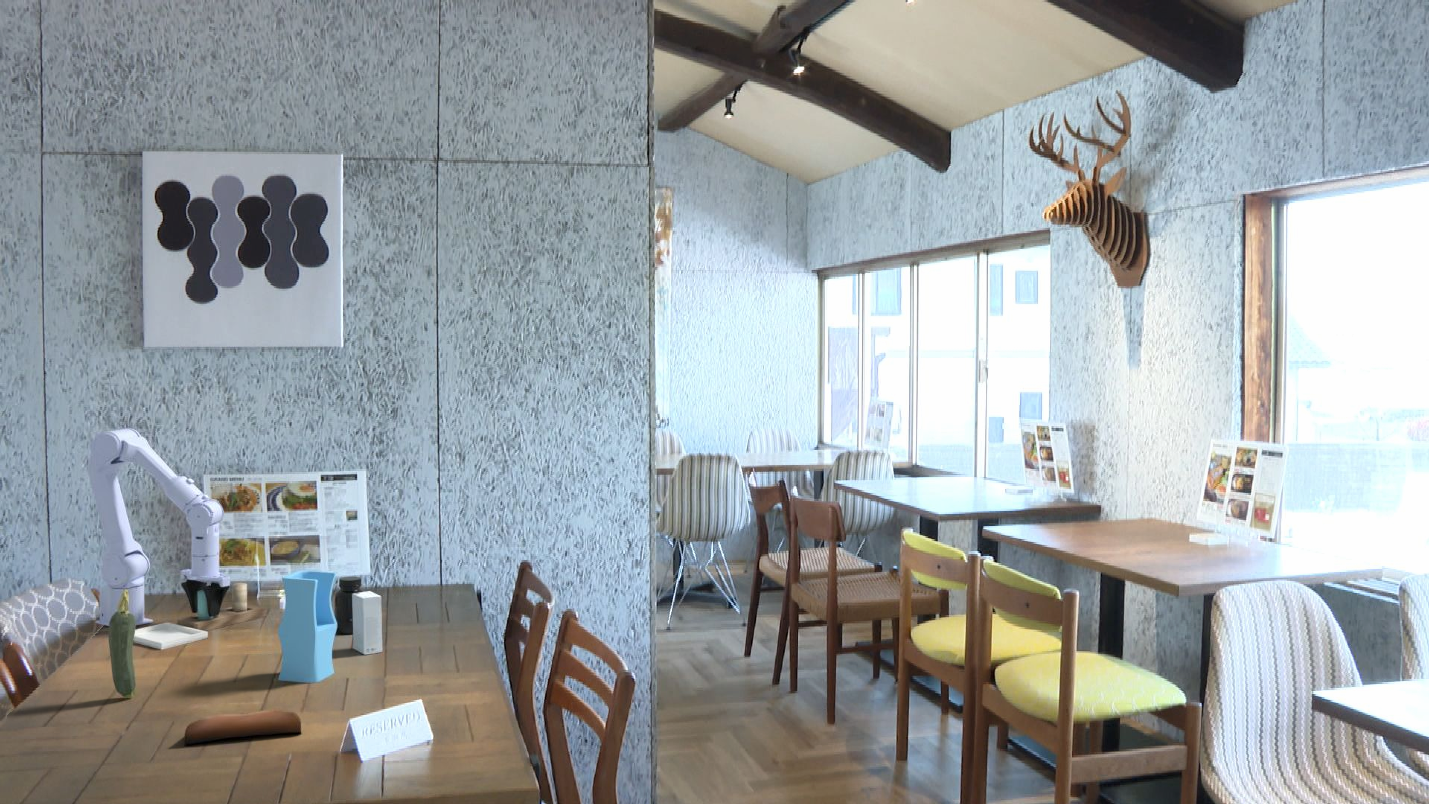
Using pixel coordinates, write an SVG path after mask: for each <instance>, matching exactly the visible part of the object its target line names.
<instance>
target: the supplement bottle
mask: <svg viewBox="0 0 1429 804" xmlns="http://www.w3.org/2000/svg"><path fill="white" fill-rule="evenodd" d="M362 585H363V584H362V577H359V576H343V577H340V578H339V579H338V588H339V589H338V590H336V591H335V592H334V594H333V613H334V616H335V619H336V621H337V630H336V633H335V634H339V635H353V607H352V594H354V593H360V592H365V590H363V589H362V588H361V587H362Z"/></svg>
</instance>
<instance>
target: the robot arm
mask: <svg viewBox="0 0 1429 804" xmlns="http://www.w3.org/2000/svg"><path fill="white" fill-rule="evenodd" d="M88 446H89V448H90V455H89V460H88V463H87V464H88V465H87V473H88V474H87V475H88V477H89V482H90V486H91V490H92V493H93V497H94V501H95V505H96V509H97V513H98V517H99V520H100V525H101V529H102V533H103V536H104V540H105V545H106V547H105V550H104V551H103V554H102V555H101V559H102V560H101V561H102V568H101V577H102V579H103V581H104V582H105V585H104V586H103V587H102V589H101V590H100V592H99V596H98V597H99V599H98V600H99V620H96V621H95V624H99V625H103V626H107V627H109V623H110V619H111V617H112V616H113V615H114V614H115V613H116V612H118V609H117V607H118V604H119V601H120V599H121V595H122V593H123V592H124V589H126V590H128V594H129V608H128V610H127V611H129V612H130V613H131V614H132V615H133V616H134V618H135V621H136V626H142V625H145V624H149V623H153V622H154V620H153V619H150V618H146V617H145V576H147V575H148V574H149V572H150V569H151V563H150V559H149V557H148V556H147V555H146V554H145V553H144V551H143V547H142V545H141V544H140V543H138V542H137V541H136V540H135V539H134V537H133V534H132V533H133V532H132V529H131V525H130V521H129V518H128V513H127V509H126V505H125V501H124V499H123V498H124V497H123V494H122V490H121V486H120V482H119V478H118V474H117V473H118V471H119V469H120V468H121V467H122V466H123V464H124V463H125V462H126V463H127V462H128V463H135V464H138V465H139V466H140V467H142V468H143V469H144V471H146V472H147V473H149V474H150V475H151V476H152V477H153V478H154V479H156V480H157V481H158V482H159V483H160V484H161V485H162V486H163V487H164V495H165V496H166V497H167V498H168V499H169V500H170V501H171V502H173V504H174V505H175V506H177V508H179V510H181V512H182V513H183V514H185V519H186V523H187V524H188V525H189V527H190V528H191V529H190V530H191V532H190V533H191V540H190V541H191V563H190V564H191V568H187V569H183V570H181V571H180V579H181V580H186V581H184V582H181V585H180V586H181V588H182V589H183V590H184V593H185V595H186V597H187V599H188V602H189V606H190V610H191V614H196V613H197V614H198V591H201V590H203V591H204V593H205V596H206V599H207V607H208V615H209V617H213V616H217V615H219V612H220V610H221V609H222V604H223V600H224V598H225V596H226V593H227V592H228V591H229V589H230V586H231V577H230V576H227V575H225V574H223V573H222V572H220V522H221V521H222V519H223V517H224V513H225V511H224V508H223V506H222V504H220V501H219V500H218V499H213V498H210V496H209V495H207V494H204V493H203V492H202V491H201V490H200V489H199V488H198V487H197V486H196V485H195V484H194V483H195V481H194V480H193V479H192V478H188V477H187V476H185V475H184V476H183V475H181V476H179V475H177V474H176V473H175V472H174V471H173V470H172V469H171V468H170V467H169V466H168V465H167V463H166V462H165V461H164V460H163V458H161V456H159V455H158V453H156V452H155V450H154V449H153V448H152V447H151V446H150V444H149V442H148V440H147V439H146V438H145V437H143V436H141V434H140V432H138V431H137V430H136V429H134V428H131V427H130V428H129V427H124V428H121V429H116V430H105V431H101V432H99V433H98V434H97V435H96V436H95V437H94V438H93V440H92V441H91V442H90V443H89V445H88ZM208 584H209V585H208Z"/></svg>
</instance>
